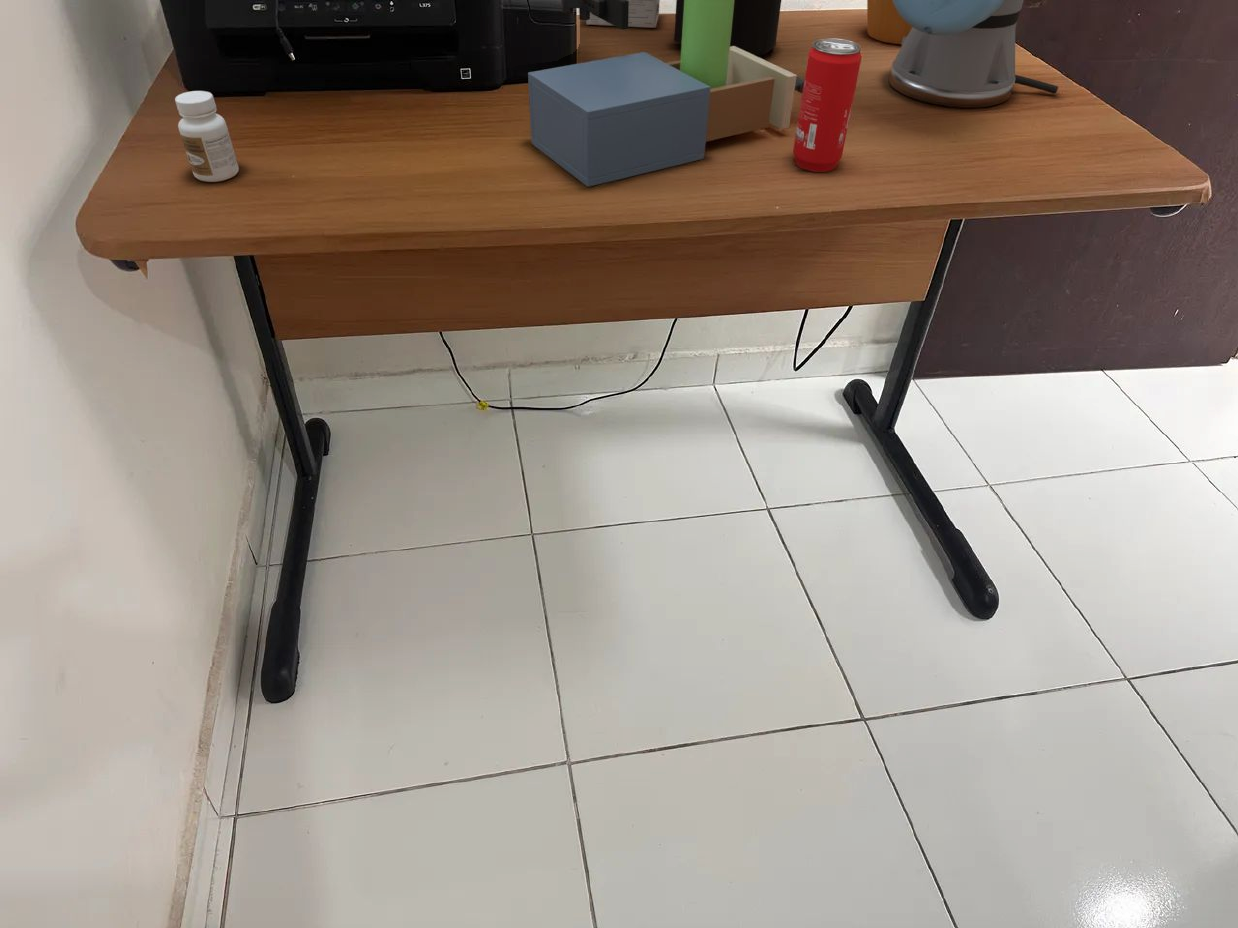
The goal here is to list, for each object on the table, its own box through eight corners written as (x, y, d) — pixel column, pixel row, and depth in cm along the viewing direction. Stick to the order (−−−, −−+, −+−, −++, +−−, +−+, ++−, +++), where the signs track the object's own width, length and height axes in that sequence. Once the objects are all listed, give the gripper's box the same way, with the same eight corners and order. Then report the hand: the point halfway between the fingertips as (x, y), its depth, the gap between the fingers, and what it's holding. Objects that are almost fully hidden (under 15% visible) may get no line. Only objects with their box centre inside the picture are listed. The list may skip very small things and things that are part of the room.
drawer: (756, 90, 107) (762, 40, 103) (817, 121, 100) (826, 68, 96) (635, 116, 100) (637, 63, 96) (692, 151, 93) (696, 96, 89)
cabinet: (642, 120, 102) (644, 51, 97) (704, 159, 94) (710, 86, 89) (531, 144, 96) (527, 72, 91) (587, 187, 88) (587, 112, 83)
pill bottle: (186, 174, 89) (160, 96, 83) (225, 161, 91) (203, 85, 86) (207, 187, 86) (182, 108, 81) (247, 174, 89) (226, 97, 84)
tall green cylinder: (727, 110, 99) (742, -38, 89) (717, 126, 96) (731, -26, 85) (683, 104, 100) (693, -43, 90) (671, 120, 97) (681, -31, 87)
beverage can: (792, 152, 96) (810, 36, 88) (839, 156, 95) (862, 39, 87) (790, 171, 92) (810, 52, 84) (840, 176, 91) (864, 56, 83)
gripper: (664, -15, 115) (763, 28, 102) (494, 10, 106) (579, 60, 92) (667, -80, 110) (772, -44, 97) (489, -61, 100) (578, -18, 87)
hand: (678, 7), depth 95 cm, fingers open, 13 cm apart
